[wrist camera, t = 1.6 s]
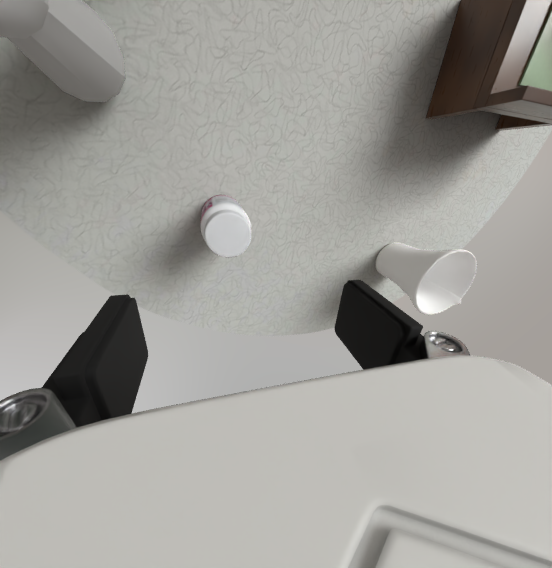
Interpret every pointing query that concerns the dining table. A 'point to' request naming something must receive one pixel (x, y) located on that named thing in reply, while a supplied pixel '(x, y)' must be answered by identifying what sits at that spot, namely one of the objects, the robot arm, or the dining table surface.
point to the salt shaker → (66, 45)
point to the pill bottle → (225, 226)
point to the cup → (428, 274)
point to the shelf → (498, 63)
